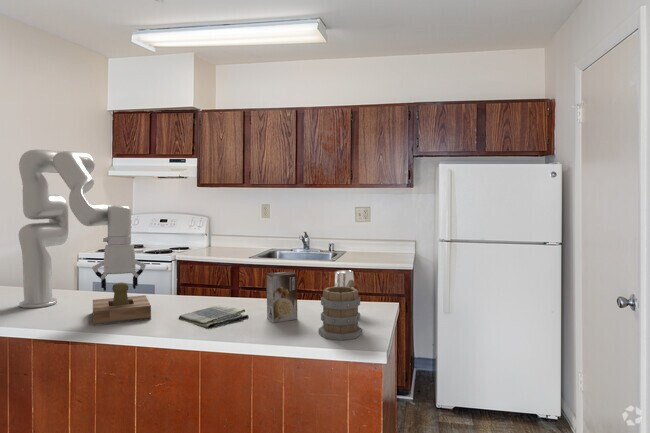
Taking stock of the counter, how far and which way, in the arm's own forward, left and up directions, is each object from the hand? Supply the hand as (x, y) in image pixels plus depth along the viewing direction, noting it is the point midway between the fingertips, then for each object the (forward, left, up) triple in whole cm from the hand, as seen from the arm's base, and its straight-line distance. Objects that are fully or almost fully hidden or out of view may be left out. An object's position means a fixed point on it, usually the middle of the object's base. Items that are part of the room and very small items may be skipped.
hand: (119, 289), depth 168 cm
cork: (0, 0, -9) cm, 9 cm away
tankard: (+50, +64, -10) cm, 81 cm away
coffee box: (+28, +50, -10) cm, 59 cm away
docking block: (0, 0, -10) cm, 10 cm away
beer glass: (+29, +74, -10) cm, 81 cm away
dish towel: (+17, +29, -10) cm, 36 cm away
